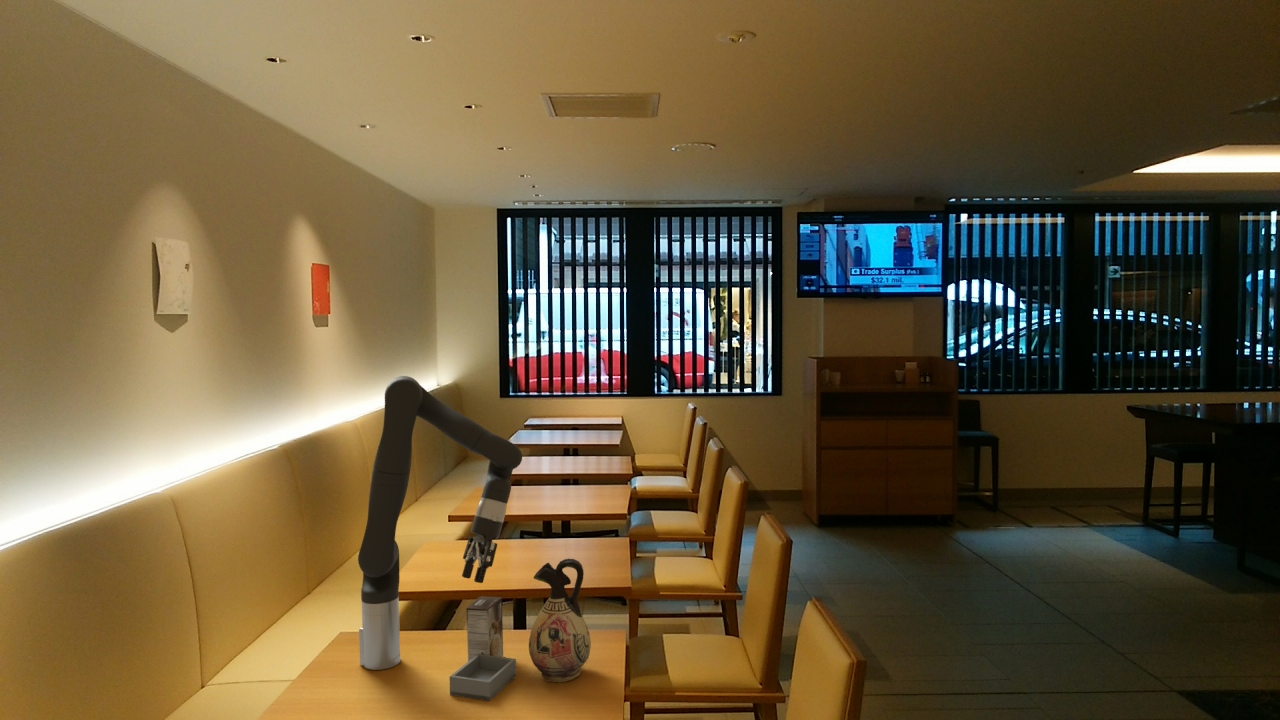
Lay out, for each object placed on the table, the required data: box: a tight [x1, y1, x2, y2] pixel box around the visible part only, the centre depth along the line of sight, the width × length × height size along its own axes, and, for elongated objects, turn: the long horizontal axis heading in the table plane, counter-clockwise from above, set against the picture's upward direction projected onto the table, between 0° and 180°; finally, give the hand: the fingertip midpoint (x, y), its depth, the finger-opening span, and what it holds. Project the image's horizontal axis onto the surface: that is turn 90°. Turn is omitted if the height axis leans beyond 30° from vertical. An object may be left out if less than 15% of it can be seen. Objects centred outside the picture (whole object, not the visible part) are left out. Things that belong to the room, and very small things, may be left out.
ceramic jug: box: [528, 558, 592, 683], centre depth 204 cm, size 17×15×30 cm
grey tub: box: [449, 654, 517, 702], centre depth 199 cm, size 11×14×4 cm
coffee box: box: [466, 595, 504, 662], centre depth 212 cm, size 9×6×16 cm
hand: (471, 580), depth 210 cm, fingers open, 8 cm apart
